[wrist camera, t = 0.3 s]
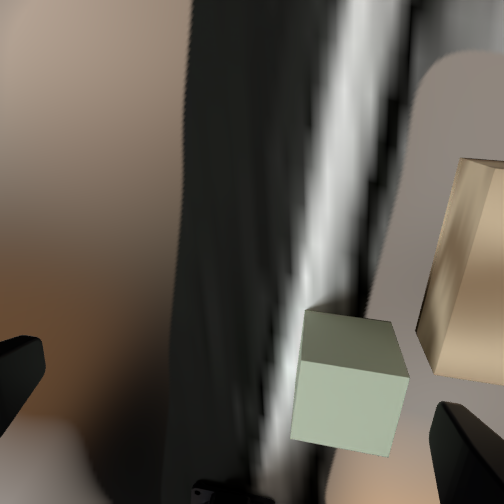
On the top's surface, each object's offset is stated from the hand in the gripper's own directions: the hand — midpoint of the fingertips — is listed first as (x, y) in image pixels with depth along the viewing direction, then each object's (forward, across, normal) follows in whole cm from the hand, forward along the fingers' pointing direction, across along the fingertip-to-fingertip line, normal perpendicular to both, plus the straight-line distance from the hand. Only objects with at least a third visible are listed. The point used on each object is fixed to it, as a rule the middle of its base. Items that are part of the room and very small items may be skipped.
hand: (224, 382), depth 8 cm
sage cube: (+14, -4, +8) cm, 16 cm away
